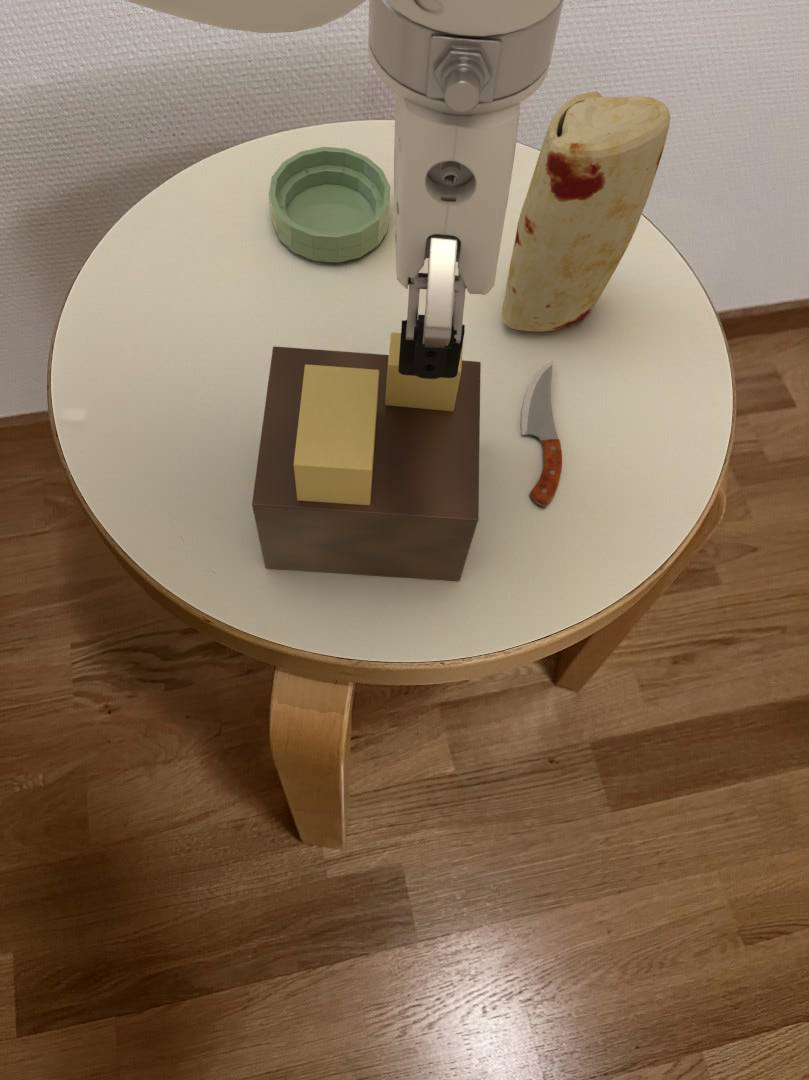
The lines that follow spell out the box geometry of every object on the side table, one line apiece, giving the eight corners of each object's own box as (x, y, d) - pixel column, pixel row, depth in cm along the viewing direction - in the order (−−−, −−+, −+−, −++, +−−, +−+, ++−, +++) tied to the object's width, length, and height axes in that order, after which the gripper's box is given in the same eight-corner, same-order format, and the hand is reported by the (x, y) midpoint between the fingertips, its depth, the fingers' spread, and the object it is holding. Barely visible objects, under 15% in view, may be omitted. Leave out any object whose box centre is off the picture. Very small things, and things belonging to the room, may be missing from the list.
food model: (516, 360, 73) (572, 163, 55) (479, 299, 76) (521, 92, 57) (619, 324, 75) (705, 123, 57) (580, 266, 78) (651, 56, 60)
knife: (519, 357, 72) (556, 358, 73) (518, 361, 73) (555, 363, 73) (525, 503, 67) (565, 505, 67) (523, 507, 67) (563, 508, 67)
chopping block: (264, 568, 64) (251, 504, 55) (282, 425, 69) (272, 345, 60) (459, 581, 65) (478, 520, 56) (463, 438, 70) (480, 361, 61)
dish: (266, 261, 76) (263, 231, 73) (279, 174, 80) (276, 142, 77) (384, 270, 76) (386, 241, 73) (391, 183, 80) (393, 152, 77)
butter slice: (384, 405, 59) (387, 364, 55) (387, 374, 60) (391, 331, 56) (453, 412, 59) (461, 371, 55) (455, 380, 60) (463, 338, 56)
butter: (297, 500, 55) (293, 464, 51) (307, 405, 58) (305, 363, 54) (370, 505, 56) (372, 470, 52) (377, 410, 59) (379, 369, 54)
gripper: (562, 186, 32) (495, 436, 48) (552, -107, 39) (496, 193, 55) (353, 170, 32) (354, 426, 48) (381, -121, 39) (374, 184, 55)
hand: (430, 301), depth 51 cm, fingers open, 9 cm apart
